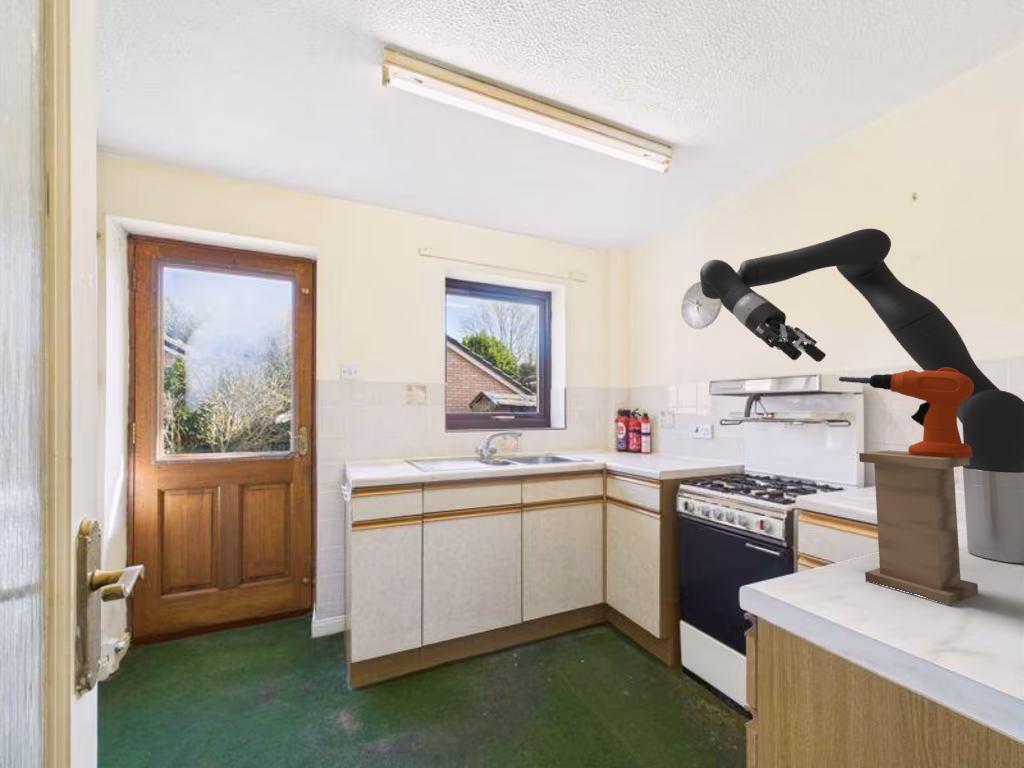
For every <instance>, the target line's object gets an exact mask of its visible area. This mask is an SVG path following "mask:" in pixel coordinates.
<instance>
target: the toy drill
mask: <svg viewBox="0 0 1024 768" xmlns="http://www.w3.org/2000/svg"><path fill="white" fill-rule="evenodd" d="M838 381H839V382H841V383H842V382H843V383H845V382H846V383H857V384H866V385H868V384H869V386H871V387H872V388H874V389H883V390H886V391H887V390H889V391H890V392H892V393H898V394H901V395H903V396H907V397H910V398H914V399H918V400H921V401H924V402H923V403H921V404H920V405H919V407H918V410H916V412H915V413H914V414H913V415H910V418H911V419H912V420H913V421H914V422H916V423H918V424H919V425H920V426H922V427H923V433H922V434H923V437H922V441H919V442H916V443H914V444H911V445H909V447H908V448H907V450H908V451H907V452H909V454H911V455H921V456H937V457H957V458H971V457H972V450H971V446H970V445H969V444H964V442H962V439H961V436H960V431H959V428H958V417H957V413H958V408H959V405H960V404H961V403H962V402H963V401H965V400H966V399H967V398H969V397H970V396H971V394H972V393H973V391H974V383H973V382H972V380H971V379H970V378H968V377H967V376H965V375H963V374H961V373H960V372H959V371H958V370H956V369H953V368H948V367H945V368H941V369H939V370H937V371H931V370H925V371H924V370H923V371H915V370H913V369H908V370H905V371H901V372H896V373H892V374H890V373H886V374H873V375H871V376H870V377H855V376H854V377H853V376H850V377H849V376H840V377H838Z"/></svg>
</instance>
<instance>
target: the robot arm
mask: <svg viewBox="0 0 1024 768" xmlns="http://www.w3.org/2000/svg"><path fill="white" fill-rule="evenodd" d="M891 247H892V241H891V239H890V237H889V235H888V234H887V232H884V231H882V230H881V229H877V228H863V229H859V230H855V231H852V232H850V233H847V234H842V235H840V236H837V237H835V238H832V239H829V240H826V241H822V242H818V243H816V244H812V245H808V246H805V247H801V248H798V249H797V248H796V249H794V250H789V251H784V252H780V253H775V254H771V255H765V256H760V257H756V258H750V259H746V260H743V261H742V262H741V264H740V265H739V266H740V267H739V268H738V270H737V272H736V270H735V269H734V268H733V267H732V265H730V264H729V263H727V262H726V261H724V260H721V259H711V260H708V261H707V262H705V263H704V264H703V265H702V266H701V268H700V270H699V276H700V277H699V278H700V285H701V292H702V295H704V296H705V297H706V298H708V299H710V300H720V302H721V304H722V306H723V307H724V308H725V309H726V310H728V312H730V313H731V314H732V315H733V316H734V317H735V318H736V319H737V320H738V321H739V323H741V324H742V325H743V326H744V327H746V328H747V329H748V330H749V332H751V333H752V334H753V335H755V337H757V338H759V339H761V341H763V342H764V343H765V344H767V346H768V347H769V348H771V349H773V348H775V349H777V350H778V351H781V352H783V354H785V355H787V357H788V358H789V359H791V360H792V361H797V360H798V359H799V358H800V357H801V356H802V355H803V352H804V353H806V354H807V355H808V356H809V357H810V358H811V359H812V360H814V361H815V362H816V363H820V362H822V361H823V360H824V359H825V358H826V356H827V355H826V353H825V352H824V351H823V350H822V349H820V348H819V347H817V346H816V344H817V343H818V341H816V339H814V338H812V337H811V336H810V335H809V334H807V333H806V332H804V331H803V330H802V329H801V328H799V327H797V326H795V327H793V326H791V325H789V324H786V319H787V316H786V313H785V312H784V311H782V310H781V309H780V308H779V307H777V306H776V305H775V304H773V303H772V302H771V301H770V300H768V299H767V298H765V297H764V296H762V295H761V294H759V293H757V292H756V291H755V290H753V289H752V288H753V287H754V288H755V287H760V286H761V287H762V286H766V285H770V284H776V283H781V282H783V281H788V280H790V279H793V278H796V277H798V276H801V275H804V274H807V273H810V272H812V271H813V272H814V271H816V270H821V269H826V268H831V267H836V269H837V271H838V272H839V273H840V275H842V276H843V278H845V280H846V281H848V282H849V283H850V284H851V285H852V287H853V288H855V289H856V290H857V291H858V292H859V293H860V294H861V295H862V297H864V299H865V300H866V301H867V302H868V304H869V305H870V307H871V308H872V309H873V310H874V312H875V313H876V314H877V316H878V318H880V320H881V321H882V323H884V325H885V326H886V328H887V329H888V330H889V332H890V333H891V334H892V336H893V337H894V339H895V340H896V341H897V343H899V345H900V346H901V347H902V349H903V350H905V352H906V353H907V354H908V355H909V356H910V357H911V359H912V360H913V361H915V363H916V364H917V365H918V366H919V367H920V368H921V369H922V370H923V371H925V370H931V371H937V370H939V369H941V368H945V367H948V368H953V369H956V370H958V371H959V372H960V373H961V374H963V375H965V376H967V377H968V378H970V379H971V380H972V382H973V383H974V391H973V393H972V394H971V396H970V397H969V398H967V399H966V400H965V401H963V402H962V403H961V404H960V405H959V408H958V413H957V420H959V421H960V423H961V424H962V436H963V437H962V438H963V439H962V440H963V442H962V443H964V444H969V445H970V446H971V450H972V457H971V458H969V459H970V465H967V466H962V476H963V493H964V507H965V508H964V509H965V526H966V543H967V544H966V545H967V546H966V547H967V552H968V553H970V554H972V555H974V556H977V557H981V558H985V559H989V560H993V561H998V562H1005V563H1012V564H1013V563H1014V564H1024V400H1023V399H1022V398H1021V397H1020V396H1018V395H1016V394H1015V393H1011V392H1008V391H1005V390H1000V388H999V387H997V386H996V385H995V384H994V383H993V382H992V380H990V379H989V378H988V377H987V376H986V375H985V373H984V372H982V370H981V369H980V368H979V366H977V364H976V362H974V360H973V358H972V356H971V354H970V351H969V350H968V348H967V345H966V344H965V342H964V341H963V338H962V336H961V335H960V333H959V331H958V330H957V328H956V326H954V324H953V323H952V322H951V321H950V319H949V318H948V317H947V316H946V314H945V313H944V312H943V311H942V310H941V309H940V308H939V307H938V305H936V304H935V303H934V302H933V301H932V300H930V299H929V298H927V297H925V296H924V295H922V294H920V293H918V292H917V291H915V290H913V289H911V288H910V287H908V286H906V285H905V284H904V283H902V281H900V280H899V279H898V277H896V276H895V275H894V273H893V272H892V270H890V268H889V266H888V265H887V263H886V262H885V259H886V258H887V256H888V254H889V253H890V251H891V249H892V248H891Z"/></svg>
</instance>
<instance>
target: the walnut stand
mask: <svg viewBox="0 0 1024 768" xmlns="http://www.w3.org/2000/svg"><path fill="white" fill-rule="evenodd" d="M858 456H859V457H858V458H859V459H858V460H859V462H861V463H868V464H869V463H871V464H874V484H875V485H874V486H875V505H876V521H877V524H876V525H877V537H878V538H877V541H878V542H877V543H878V557H879V558H878V560H879V561H878V562H879V567H877V568H875V569H871V570H869V571H865V572H864V573H865V574H864V575H865V577H864V578H865V582H867V581H869V582H868V583H870V582H874V583H877V584H881V585H884V586H888V587H892V588H895V589H899V590H902V591H905V592H909V593H912V594H917V595H920V596H923V597H926V598H928V599H931V600H934V601H937V602H936V603H938V602H941V603H944V604H947V605H946V606H948V605H951V604H953V603H955V604H956V602H957V603H959V602H958V601H960V602H961V600H962V601H965V600H966V599H969V598H970V597H973V596H975V595H977V594H979V590H978V589H979V586H978V583H975V582H971V581H967V580H963V579H962V578H961V567H960V566H961V565H960V564H961V563H960V548H959V535H958V534H959V531H958V518H957V517H958V516H957V515H958V513H957V499H956V497H957V496H956V484H955V468H959V467H963V466H967V465H970V459H969V458H957V457H937V456H921V455H911V454H909V452H908V451H903V450H902V451H901V450H881V451H868V452H859V454H858ZM877 584H876V585H877ZM884 586H883V587H884ZM931 600H930V601H931ZM934 601H933V602H934ZM941 603H940V604H941ZM944 604H943V605H944ZM953 605H954V604H953ZM951 606H952V605H951Z"/></svg>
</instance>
